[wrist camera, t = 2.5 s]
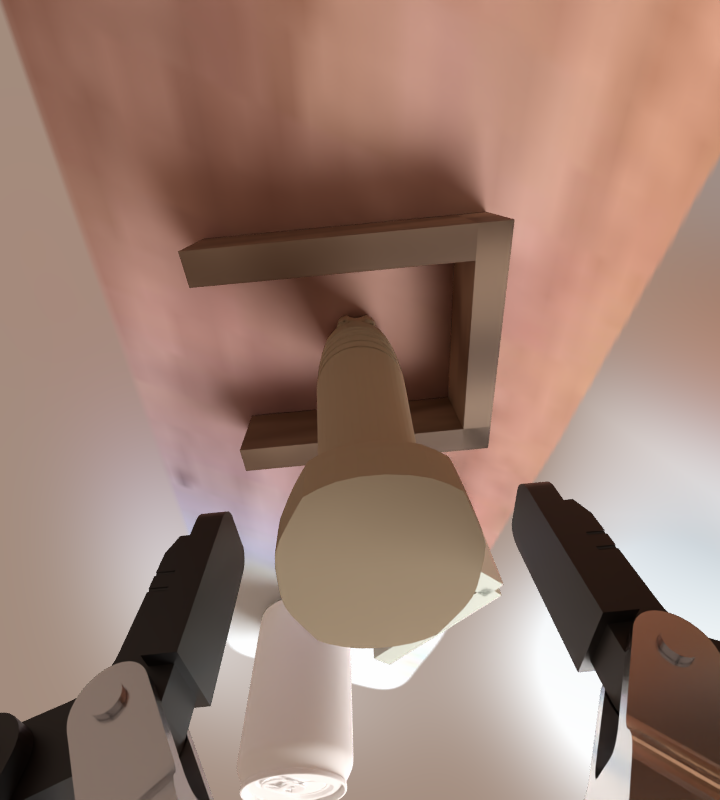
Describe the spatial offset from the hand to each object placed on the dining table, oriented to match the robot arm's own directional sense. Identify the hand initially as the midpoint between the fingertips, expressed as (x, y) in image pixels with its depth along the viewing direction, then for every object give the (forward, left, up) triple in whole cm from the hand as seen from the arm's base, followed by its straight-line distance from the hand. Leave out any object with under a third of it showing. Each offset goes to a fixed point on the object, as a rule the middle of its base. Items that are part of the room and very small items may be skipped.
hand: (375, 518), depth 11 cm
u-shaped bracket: (0, 0, -13) cm, 13 cm away
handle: (0, 0, -13) cm, 13 cm away
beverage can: (+27, -7, -13) cm, 31 cm away
